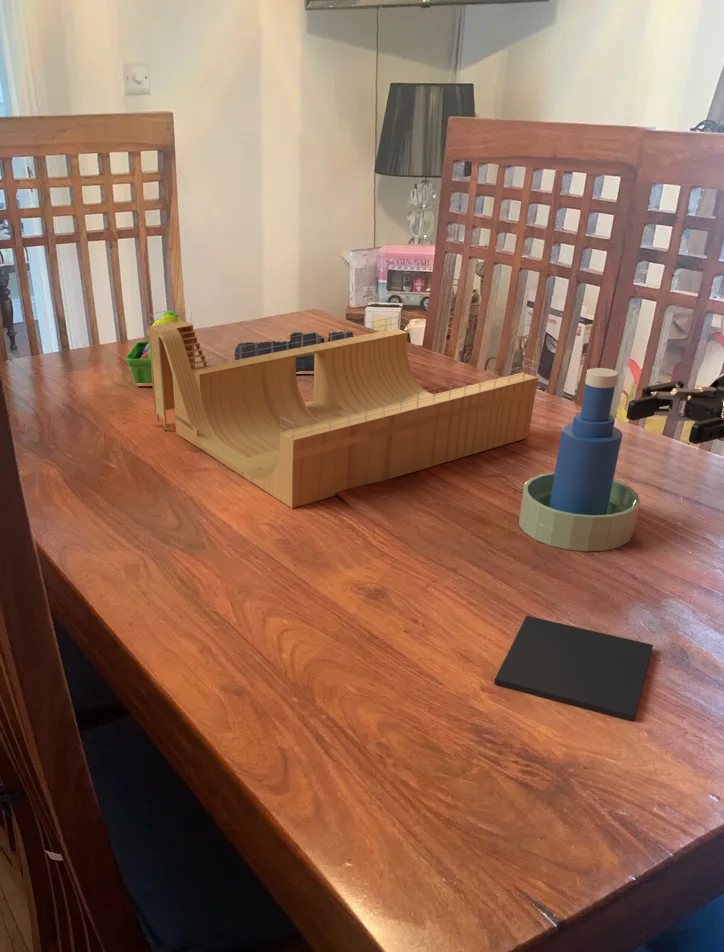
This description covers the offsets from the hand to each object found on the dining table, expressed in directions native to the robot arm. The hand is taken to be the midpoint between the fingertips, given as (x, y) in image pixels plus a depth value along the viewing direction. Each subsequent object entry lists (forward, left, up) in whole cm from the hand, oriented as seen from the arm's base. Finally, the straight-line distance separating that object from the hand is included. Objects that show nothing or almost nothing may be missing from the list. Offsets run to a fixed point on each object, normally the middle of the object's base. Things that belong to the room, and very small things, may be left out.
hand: (660, 422), depth 94 cm
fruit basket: (+36, -74, -11) cm, 83 cm away
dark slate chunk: (+11, -73, -11) cm, 75 cm away
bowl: (+10, +1, -11) cm, 15 cm away
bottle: (+10, +1, -10) cm, 14 cm away
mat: (+27, +22, -11) cm, 36 cm away
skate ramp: (+20, -38, -11) cm, 45 cm away
